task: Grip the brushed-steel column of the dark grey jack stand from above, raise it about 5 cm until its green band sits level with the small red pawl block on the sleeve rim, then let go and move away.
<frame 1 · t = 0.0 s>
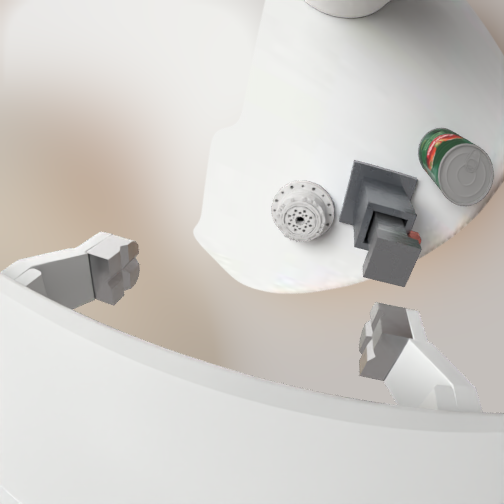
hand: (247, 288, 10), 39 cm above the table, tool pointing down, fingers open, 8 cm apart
canned tomato: (441, 152, 39), on the table
column: (384, 226, 38), point 10 cm above the table, slide at 0.0 cm
jack stand: (377, 198, 46), on the table
mechanical component: (303, 208, 50), on the table
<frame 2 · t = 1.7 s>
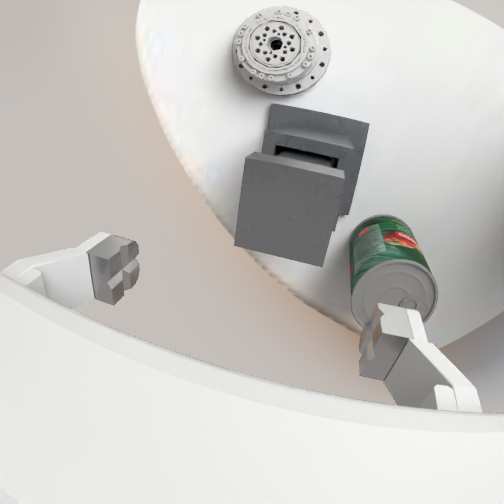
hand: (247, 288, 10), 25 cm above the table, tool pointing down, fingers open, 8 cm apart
canned tomato: (382, 246, 34), on the table
column: (303, 177, 24), point 10 cm above the table, slide at 0.0 cm
jack stand: (312, 157, 32), on the table
mechanical component: (283, 51, 28), on the table
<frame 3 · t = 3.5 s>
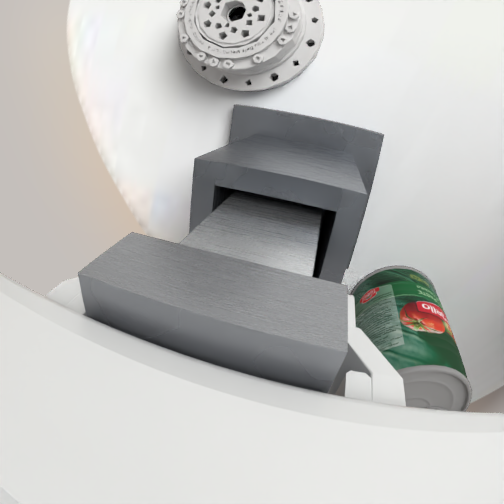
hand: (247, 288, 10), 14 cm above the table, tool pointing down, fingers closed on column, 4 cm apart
canned tomato: (392, 305, 24), on the table
column: (271, 239, 14), point 10 cm above the table, slide at 0.0 cm, touching gripper
jack stand: (297, 185, 22), on the table
mechanical component: (253, 27, 18), on the table
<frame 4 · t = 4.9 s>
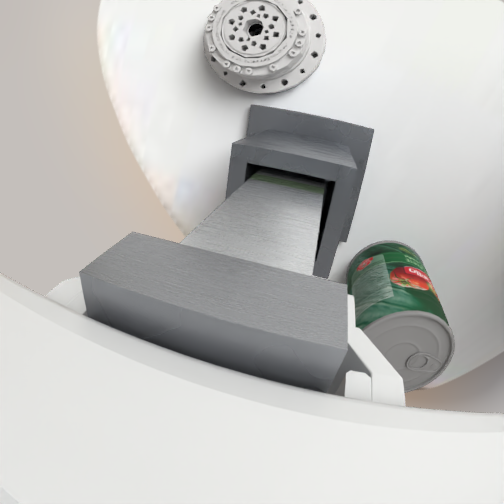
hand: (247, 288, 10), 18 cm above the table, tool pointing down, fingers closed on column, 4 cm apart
canned tomato: (385, 277, 29), on the table
column: (270, 239, 14), point 14 cm above the table, slide at 4.7 cm, touching gripper
jack stand: (302, 171, 26), on the table
mechanical component: (266, 40, 22), on the table
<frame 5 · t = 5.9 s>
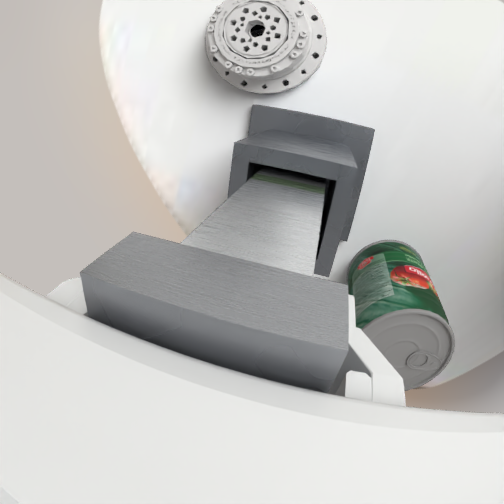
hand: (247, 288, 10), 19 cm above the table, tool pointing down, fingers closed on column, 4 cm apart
canned tomato: (386, 276, 29), on the table
column: (271, 239, 14), point 15 cm above the table, slide at 4.9 cm, touching gripper
jack stand: (303, 171, 26), on the table
mechanical component: (267, 40, 22), on the table
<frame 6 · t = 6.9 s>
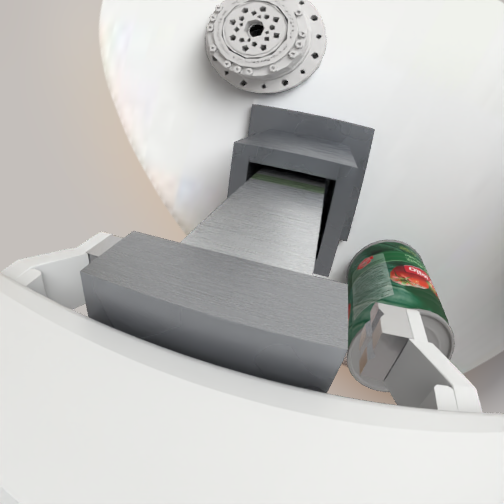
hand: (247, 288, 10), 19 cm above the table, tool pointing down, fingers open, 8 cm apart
canned tomato: (386, 275, 29), on the table
column: (271, 239, 14), point 15 cm above the table, slide at 4.9 cm
jack stand: (303, 171, 26), on the table
mechanical component: (267, 40, 22), on the table
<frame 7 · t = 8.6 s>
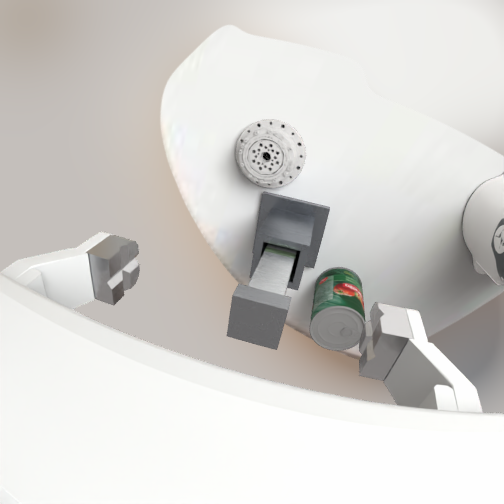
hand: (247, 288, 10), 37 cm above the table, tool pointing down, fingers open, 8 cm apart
canned tomato: (338, 287, 51), on the table
column: (273, 277, 36), point 15 cm above the table, slide at 4.9 cm
jack stand: (290, 229, 49), on the table
mechanical component: (272, 152, 44), on the table
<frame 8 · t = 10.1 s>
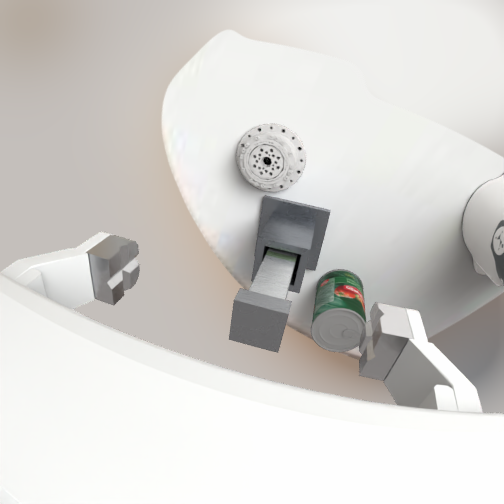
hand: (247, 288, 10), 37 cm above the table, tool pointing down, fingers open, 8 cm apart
canned tomato: (340, 289, 52), on the table
column: (274, 281, 36), point 15 cm above the table, slide at 4.9 cm
jack stand: (291, 232, 49), on the table
mechanical component: (272, 156, 45), on the table
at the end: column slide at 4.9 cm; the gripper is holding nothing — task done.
